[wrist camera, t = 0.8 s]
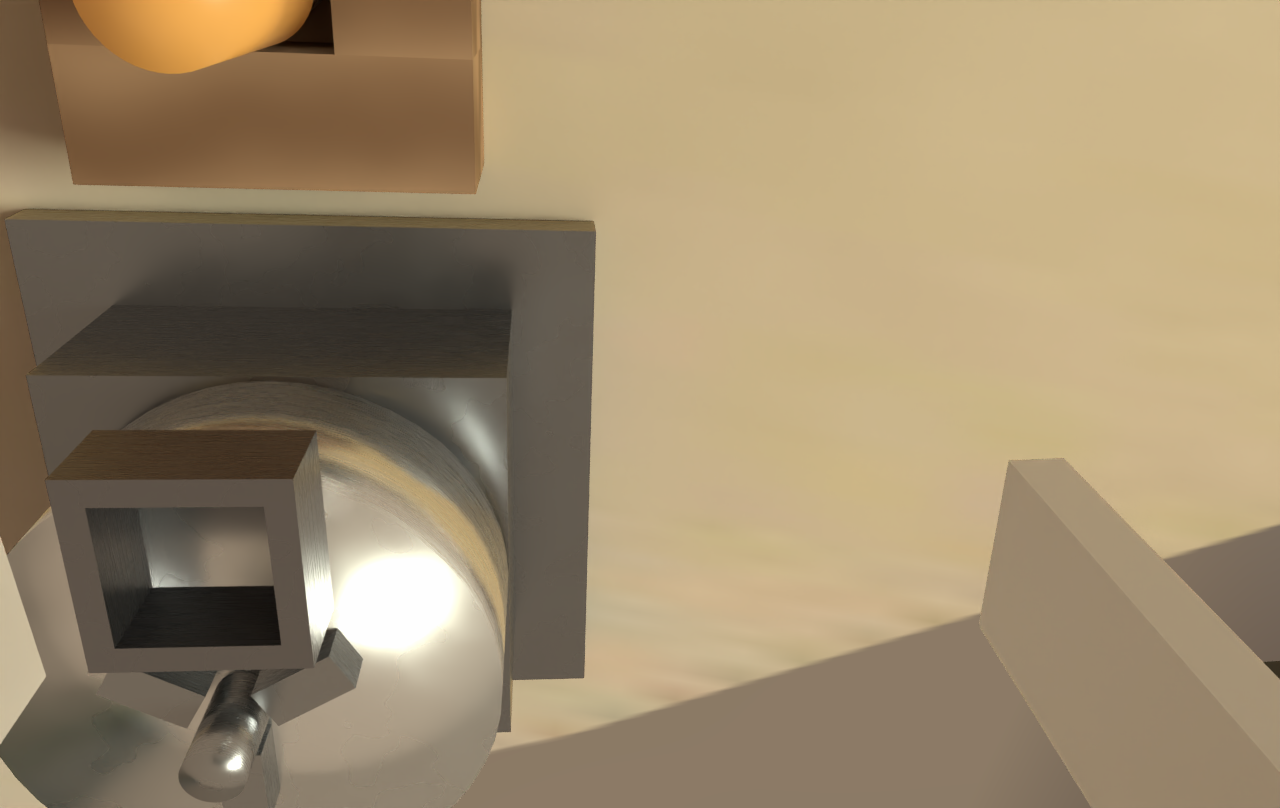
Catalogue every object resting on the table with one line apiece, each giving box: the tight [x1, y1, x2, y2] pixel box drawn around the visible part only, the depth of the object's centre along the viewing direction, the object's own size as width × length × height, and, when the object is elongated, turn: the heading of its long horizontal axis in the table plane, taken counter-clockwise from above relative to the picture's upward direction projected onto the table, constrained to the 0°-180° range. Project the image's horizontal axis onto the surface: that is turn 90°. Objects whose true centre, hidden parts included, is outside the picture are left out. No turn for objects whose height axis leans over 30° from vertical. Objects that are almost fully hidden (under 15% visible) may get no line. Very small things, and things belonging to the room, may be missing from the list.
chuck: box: [0, 381, 508, 808], centre depth 28 cm, size 15×14×9 cm
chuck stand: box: [4, 209, 596, 732], centre depth 36 cm, size 20×20×8 cm
